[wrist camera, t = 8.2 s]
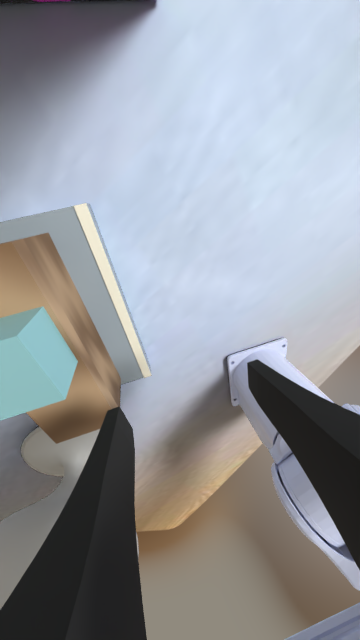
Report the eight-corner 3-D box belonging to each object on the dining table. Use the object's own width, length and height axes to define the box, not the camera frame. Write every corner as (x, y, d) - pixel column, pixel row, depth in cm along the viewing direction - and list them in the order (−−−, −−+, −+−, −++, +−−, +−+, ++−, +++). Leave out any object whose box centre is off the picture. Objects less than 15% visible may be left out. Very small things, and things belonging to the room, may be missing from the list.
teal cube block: (77, 361, 13) (65, 399, 10) (12, 381, 12) (-19, 426, 10) (43, 306, 11) (16, 336, 8) (-37, 328, 10) (-92, 367, 8)
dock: (150, 365, 22) (151, 375, 21) (49, 397, 21) (44, 410, 20) (89, 204, 14) (86, 203, 13) (-77, 241, 13) (-101, 244, 12)
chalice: (153, 439, 29) (176, 621, 16) (75, 486, 30) (36, 695, 17) (83, 388, 22) (21, 642, 9) (-18, 451, 22) (-210, 769, 10)
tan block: (120, 378, 20) (119, 422, 16) (71, 394, 20) (56, 444, 16) (48, 232, 13) (11, 241, 9) (-32, 250, 13) (-112, 270, 8)
